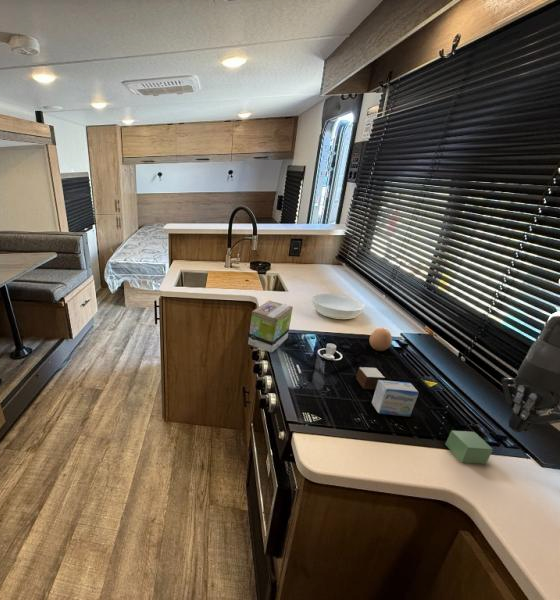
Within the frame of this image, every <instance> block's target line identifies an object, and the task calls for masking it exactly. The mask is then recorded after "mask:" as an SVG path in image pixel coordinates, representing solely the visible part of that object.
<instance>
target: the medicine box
mask: <svg viewBox="0 0 560 600" xmlns="http://www.w3.org/2000/svg"><path fill="white" fill-rule="evenodd" d="M419 394H420V393H419V391H418V390H417V389H416V388H415V386H414V385H413V384H412V383H411V382H405V381H395V380H385V379H384V380H378V383H377V386H376V389H374V394H373V397H372V400H371V404H372V406H373V407H374V409H375V410H376V412H377V414H379V415H389V416H390V415H391V416H401V417H409V418H410V417H411V415H412V412H413V410H414V407H415V405H416V402H417V399H418V396H419Z"/></svg>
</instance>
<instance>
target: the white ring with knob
mask: <svg viewBox="0 0 560 600" xmlns="http://www.w3.org/2000/svg"><path fill="white" fill-rule="evenodd" d="M322 350H325V353H323V354H321V352H320V351H322ZM335 353H337V354H338V355H339V356H340V357H339V358H336V359H335V356H334V354H335ZM317 354H318V355H319V356H320V357H322V358H323V359H325V360H327V361H340V360H342V359H343V354H342V353H341V352H339V351H338V350H337V345H336V344H335V343H332V342H331V343H330V342H329V343H327V344H326V345H325V348H323V347H322V348H320V349H318V350H317Z"/></svg>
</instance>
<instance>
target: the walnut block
mask: <svg viewBox="0 0 560 600" xmlns="http://www.w3.org/2000/svg"><path fill="white" fill-rule="evenodd" d="M385 379H386V377H385V376H384V375H383V373H381V371H379V369H378V368H377V367H364V366H363V367H362V366H359V367H358V369H357V373H356V377H355V380H356V381H357V382H358V383H359V385H360V386H361V388H362V389H363V390H376V386H377V383H378V380H385Z"/></svg>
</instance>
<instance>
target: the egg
mask: <svg viewBox="0 0 560 600" xmlns="http://www.w3.org/2000/svg"><path fill="white" fill-rule="evenodd" d="M392 342H393V337H392V334H391V331H389V330H388V329H387V328H385V327H379V328H376V329H375V330H373V331H372V333H371V334H370V335H369V342H368V343H369V345H370V347H371V348H372V349H373V350H375V351H377V352H384V351H387V350H388V349H389V348H390V347H391V345H392Z"/></svg>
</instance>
